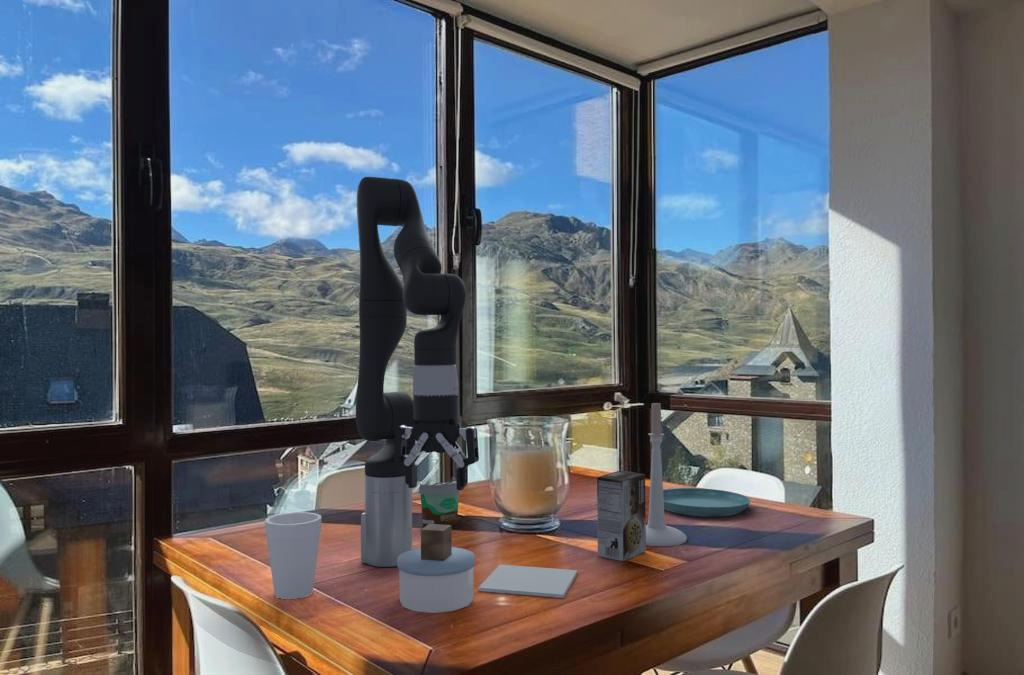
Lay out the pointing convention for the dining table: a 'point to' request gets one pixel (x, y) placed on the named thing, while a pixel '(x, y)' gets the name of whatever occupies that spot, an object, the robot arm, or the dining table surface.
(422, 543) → the lid
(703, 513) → the saucer
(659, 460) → the candlestick
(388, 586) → the dining table surface
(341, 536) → the dining table surface
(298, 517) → the foam cup
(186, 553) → the dining table surface
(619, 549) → the coffee box
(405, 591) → the bowl
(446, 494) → the food container
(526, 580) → the mat
